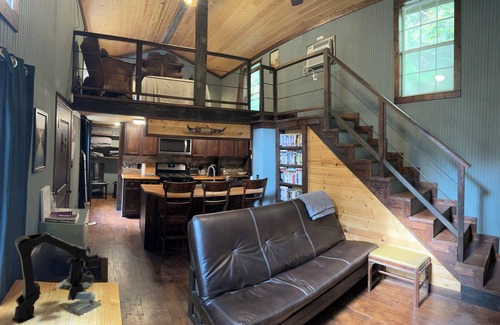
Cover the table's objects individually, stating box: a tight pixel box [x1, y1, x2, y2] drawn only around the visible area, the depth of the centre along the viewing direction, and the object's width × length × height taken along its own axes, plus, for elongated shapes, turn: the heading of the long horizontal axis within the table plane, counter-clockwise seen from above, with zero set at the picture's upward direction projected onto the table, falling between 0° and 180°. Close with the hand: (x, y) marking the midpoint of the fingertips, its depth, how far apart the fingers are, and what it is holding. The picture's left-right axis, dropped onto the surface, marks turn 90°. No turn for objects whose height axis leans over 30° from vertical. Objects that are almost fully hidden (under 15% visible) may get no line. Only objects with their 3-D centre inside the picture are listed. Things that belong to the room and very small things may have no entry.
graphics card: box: [55, 278, 94, 291], centre depth 171 cm, size 17×4×12 cm
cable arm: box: [67, 290, 97, 301], centre depth 154 cm, size 13×3×4 cm, turn 101°
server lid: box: [64, 299, 102, 316], centre depth 150 cm, size 12×12×2 cm
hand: (73, 300), depth 150 cm, fingers closed
